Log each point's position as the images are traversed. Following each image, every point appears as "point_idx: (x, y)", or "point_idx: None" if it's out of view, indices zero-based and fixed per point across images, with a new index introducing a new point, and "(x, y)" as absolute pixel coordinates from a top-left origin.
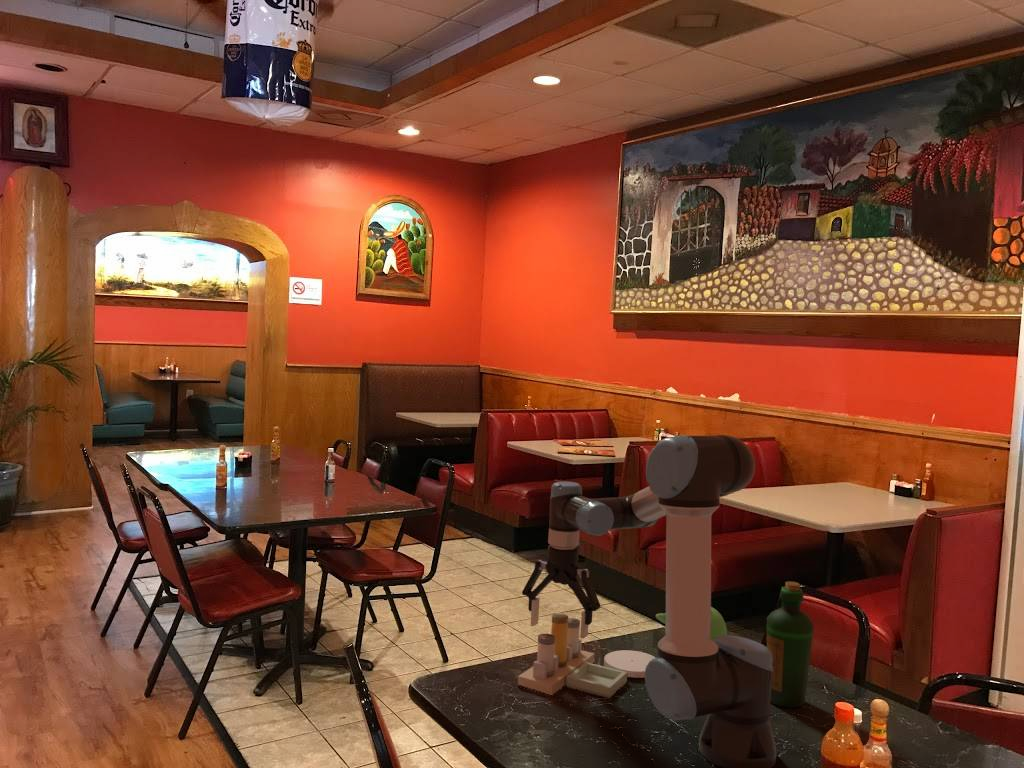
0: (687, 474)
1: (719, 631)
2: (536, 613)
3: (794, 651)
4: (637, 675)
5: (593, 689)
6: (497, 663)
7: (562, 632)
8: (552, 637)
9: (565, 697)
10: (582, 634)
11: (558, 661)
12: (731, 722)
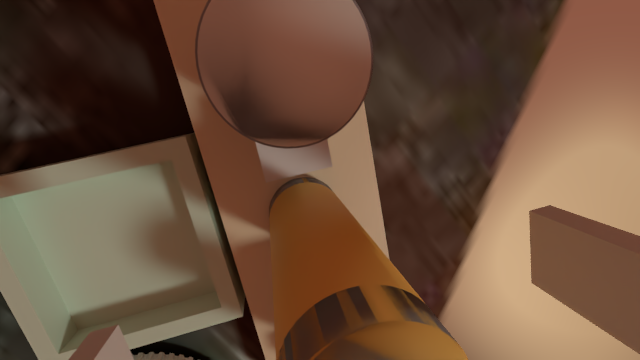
0: None
1: None
2: (626, 301)
3: None
4: None
5: (54, 163)
6: (510, 108)
7: (282, 279)
8: (231, 87)
9: (118, 43)
10: (79, 357)
11: (282, 193)
12: None
